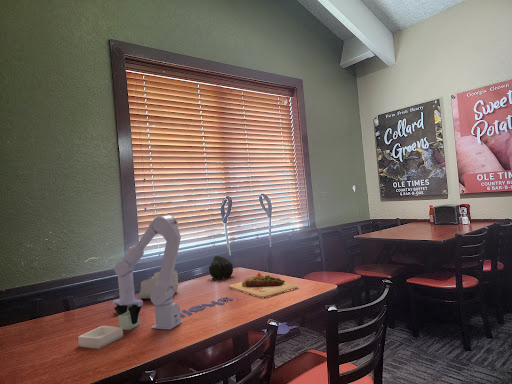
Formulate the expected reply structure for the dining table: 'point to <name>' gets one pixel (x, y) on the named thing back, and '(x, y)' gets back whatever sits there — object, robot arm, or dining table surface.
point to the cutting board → (263, 286)
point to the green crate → (127, 321)
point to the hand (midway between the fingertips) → (129, 323)
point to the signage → (203, 306)
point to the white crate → (100, 337)
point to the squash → (220, 268)
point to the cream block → (149, 285)
